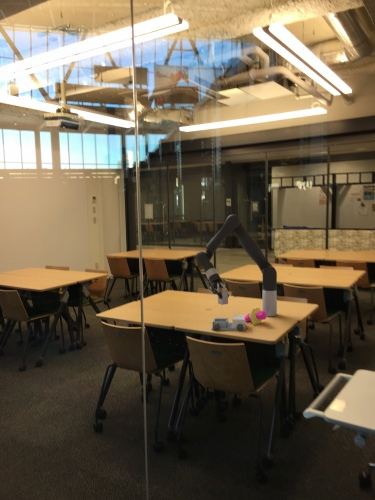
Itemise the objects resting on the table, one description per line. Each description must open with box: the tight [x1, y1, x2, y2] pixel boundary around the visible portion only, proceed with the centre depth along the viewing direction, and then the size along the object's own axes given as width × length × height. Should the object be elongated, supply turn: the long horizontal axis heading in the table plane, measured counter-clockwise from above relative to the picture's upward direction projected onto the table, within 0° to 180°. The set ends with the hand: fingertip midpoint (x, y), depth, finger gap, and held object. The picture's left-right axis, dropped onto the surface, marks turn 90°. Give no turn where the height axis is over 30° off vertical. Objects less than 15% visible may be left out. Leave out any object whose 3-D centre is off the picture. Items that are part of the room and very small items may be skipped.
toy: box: [245, 307, 268, 325], centre depth 257 cm, size 10×18×10 cm, turn 35°
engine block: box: [217, 288, 229, 306], centre depth 260 cm, size 4×4×10 cm
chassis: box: [211, 314, 246, 332], centre depth 248 cm, size 20×14×6 cm
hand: (224, 297), depth 259 cm, fingers closed on engine block, 4 cm apart
